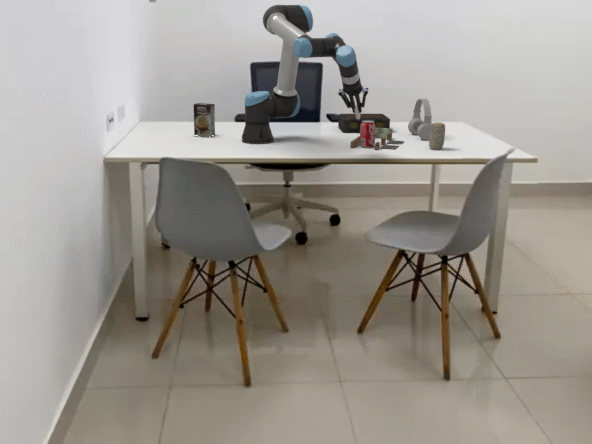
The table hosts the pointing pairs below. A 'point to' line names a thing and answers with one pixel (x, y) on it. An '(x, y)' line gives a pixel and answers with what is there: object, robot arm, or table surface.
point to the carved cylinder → (437, 136)
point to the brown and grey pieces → (384, 135)
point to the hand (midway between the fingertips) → (358, 116)
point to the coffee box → (204, 119)
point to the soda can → (367, 134)
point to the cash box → (352, 125)
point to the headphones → (417, 124)
